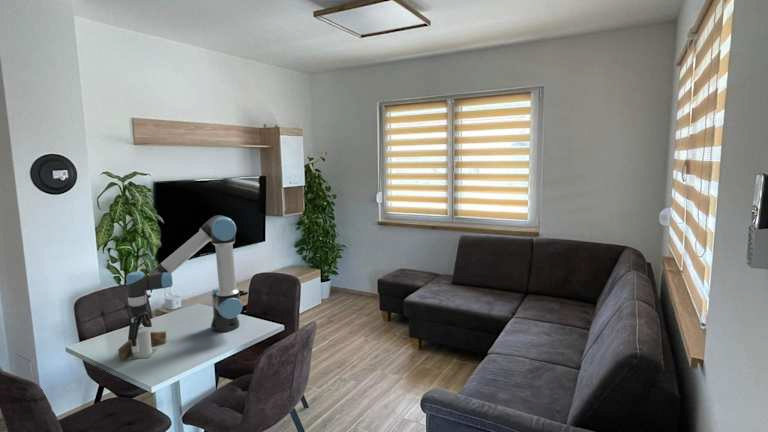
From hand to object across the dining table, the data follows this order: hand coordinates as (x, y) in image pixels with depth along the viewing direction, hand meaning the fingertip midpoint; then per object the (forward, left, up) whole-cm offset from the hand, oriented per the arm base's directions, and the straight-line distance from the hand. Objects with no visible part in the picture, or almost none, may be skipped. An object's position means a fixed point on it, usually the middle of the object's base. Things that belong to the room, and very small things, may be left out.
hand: (141, 346), depth 206 cm
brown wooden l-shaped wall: (+1, -2, -4) cm, 5 cm away
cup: (0, 0, -4) cm, 4 cm away
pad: (0, 0, -4) cm, 4 cm away
